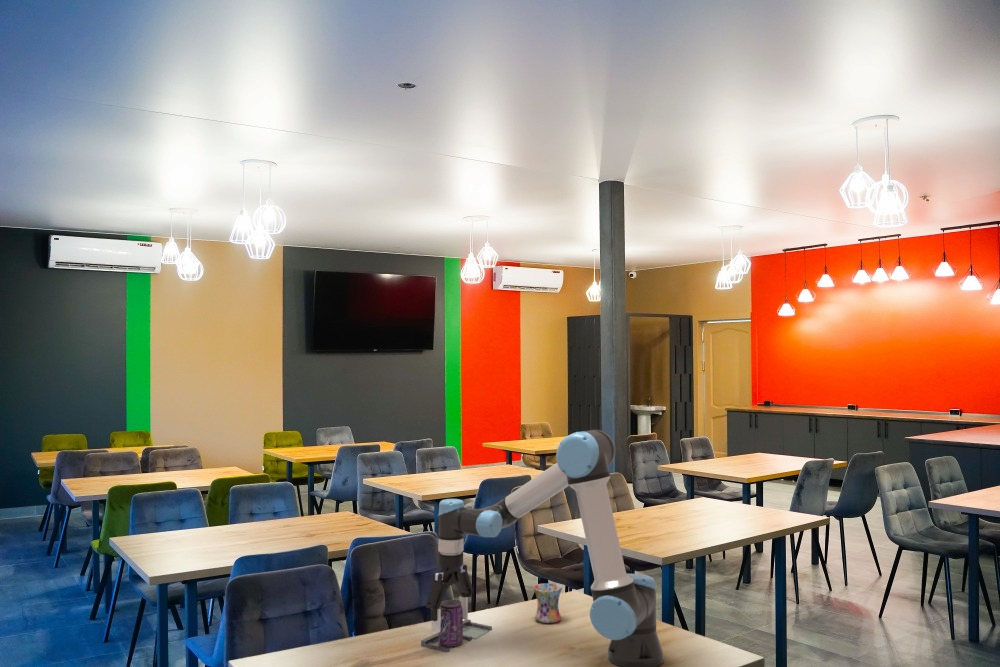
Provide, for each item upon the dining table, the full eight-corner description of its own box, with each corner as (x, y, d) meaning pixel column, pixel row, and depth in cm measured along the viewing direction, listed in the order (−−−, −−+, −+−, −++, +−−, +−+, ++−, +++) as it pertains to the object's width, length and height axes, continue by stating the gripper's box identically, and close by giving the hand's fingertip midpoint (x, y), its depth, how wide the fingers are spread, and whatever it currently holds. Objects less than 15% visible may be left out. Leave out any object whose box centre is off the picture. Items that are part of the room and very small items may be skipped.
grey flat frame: (493, 629, 238) (493, 624, 238) (448, 652, 218) (448, 646, 218) (466, 624, 243) (466, 619, 243) (421, 646, 224) (421, 640, 224)
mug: (562, 625, 242) (562, 591, 243) (533, 625, 242) (533, 591, 243) (561, 613, 254) (561, 581, 255) (533, 613, 254) (533, 580, 255)
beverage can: (435, 642, 227) (435, 601, 228) (457, 638, 230) (457, 598, 231) (443, 649, 221) (443, 607, 221) (466, 645, 224) (466, 604, 224)
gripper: (464, 543, 239) (464, 611, 238) (414, 559, 218) (413, 634, 217) (484, 546, 235) (484, 616, 234) (435, 562, 214) (434, 639, 213)
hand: (449, 625), depth 226 cm, fingers open, 13 cm apart
